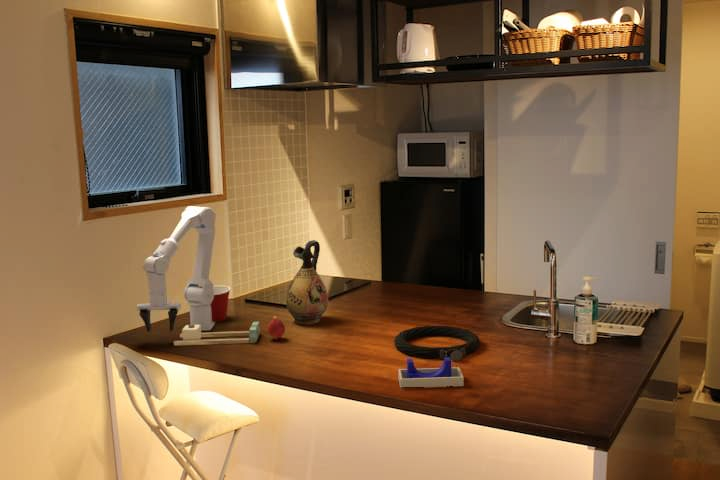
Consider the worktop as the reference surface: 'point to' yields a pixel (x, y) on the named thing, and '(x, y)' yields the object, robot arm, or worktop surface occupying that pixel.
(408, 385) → the shallow grey tray
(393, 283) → the worktop surface
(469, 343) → the cable lock
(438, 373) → the blue saddle holder
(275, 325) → the onion
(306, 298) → the ceramic jug
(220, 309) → the plastic cup
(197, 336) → the block
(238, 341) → the guide rail
